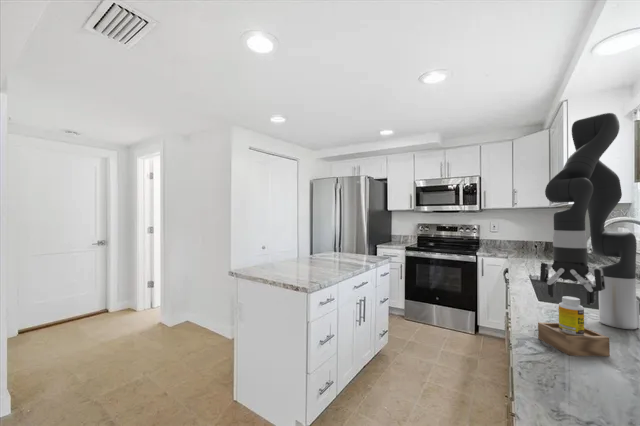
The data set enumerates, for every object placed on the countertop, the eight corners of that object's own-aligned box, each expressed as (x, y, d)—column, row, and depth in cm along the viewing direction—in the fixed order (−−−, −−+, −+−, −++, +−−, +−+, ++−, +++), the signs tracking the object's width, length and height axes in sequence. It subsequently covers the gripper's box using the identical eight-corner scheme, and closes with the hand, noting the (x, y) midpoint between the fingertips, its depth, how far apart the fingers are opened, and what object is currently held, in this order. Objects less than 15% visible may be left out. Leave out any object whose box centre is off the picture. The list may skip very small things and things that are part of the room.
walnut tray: (573, 338, 87) (573, 322, 87) (609, 356, 76) (609, 337, 76) (538, 338, 87) (538, 322, 87) (569, 355, 76) (568, 337, 76)
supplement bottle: (581, 338, 78) (580, 301, 78) (556, 331, 82) (555, 297, 83) (587, 334, 81) (586, 298, 81) (562, 327, 86) (562, 294, 86)
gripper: (607, 247, 78) (609, 305, 78) (546, 243, 90) (547, 293, 90) (597, 248, 74) (598, 309, 74) (535, 244, 87) (536, 296, 86)
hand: (570, 300), depth 82 cm, fingers open, 8 cm apart
